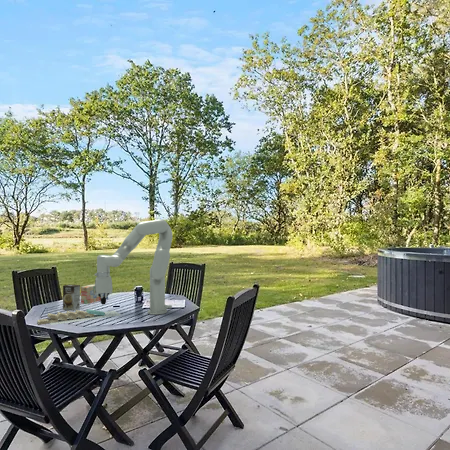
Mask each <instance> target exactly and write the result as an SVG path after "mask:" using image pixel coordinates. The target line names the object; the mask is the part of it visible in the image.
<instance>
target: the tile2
mask: <svg viewBox="0 0 450 450" xmlns="http://www.w3.org/2000/svg"><path fill="white" fill-rule="evenodd" d="M74 312H75V313H76V314H79V315H85V316H90V317H94V314H89V313H87V312H86V311H84V310H80V309H77V310H74Z"/></svg>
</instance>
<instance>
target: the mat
mask: <svg viewBox="0 0 450 450" xmlns="http://www.w3.org/2000/svg"><path fill="white" fill-rule="evenodd" d="M103 312H104V313H105V315H104V316H103V315H96V314H94V317H90V316H85V318H80V317H76V320H75V319H70V318H67V320H66V321H65V320H59V319H58V322H54V323H49V325H50V326H53V325H60V324H68V323H75V322H81V321H88V320H89V321H90V320H97V319H102V318H109V317H117V316H118V317H119V316H121V313H119V312H117V311H116V310H112V311H110V310H109V311H103Z"/></svg>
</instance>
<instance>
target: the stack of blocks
mask: <svg viewBox="0 0 450 450" xmlns="http://www.w3.org/2000/svg"><path fill="white" fill-rule="evenodd" d="M94 294H95V283H94V284H87V285H84V286H83V285H82V286H80V304H83V305H89V304H92V303H97V302H101V298H100V297H99V296H96V295H94ZM103 297H104V293H103ZM108 299H109V295H108V296H107V298H106V300H108Z"/></svg>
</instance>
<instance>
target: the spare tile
mask: <svg viewBox="0 0 450 450" xmlns="http://www.w3.org/2000/svg"><path fill="white" fill-rule="evenodd" d="M85 312H87V313H89V314H96V315H103V316H104V315H105V313H104V312H105V311H102V310H96V309H95V310H94V309H88V308H87V309H86V311H85Z"/></svg>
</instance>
